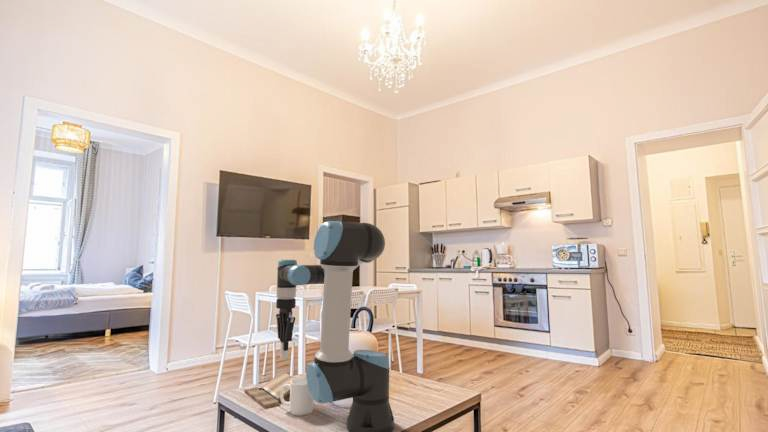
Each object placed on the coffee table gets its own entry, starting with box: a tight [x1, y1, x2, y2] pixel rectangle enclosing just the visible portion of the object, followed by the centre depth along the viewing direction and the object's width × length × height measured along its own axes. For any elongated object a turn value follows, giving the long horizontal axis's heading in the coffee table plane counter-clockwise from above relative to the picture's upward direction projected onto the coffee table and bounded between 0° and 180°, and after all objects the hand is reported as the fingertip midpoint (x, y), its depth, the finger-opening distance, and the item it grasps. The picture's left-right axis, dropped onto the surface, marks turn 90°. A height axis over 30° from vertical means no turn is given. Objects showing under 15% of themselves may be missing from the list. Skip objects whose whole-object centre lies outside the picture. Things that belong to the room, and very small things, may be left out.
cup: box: [280, 377, 315, 417], centre depth 138 cm, size 8×12×10 cm
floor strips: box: [244, 386, 280, 409], centre depth 149 cm, size 20×6×1 cm, turn 39°
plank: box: [261, 370, 296, 402], centre depth 154 cm, size 16×10×2 cm, turn 38°
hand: (283, 358), depth 156 cm, fingers closed
